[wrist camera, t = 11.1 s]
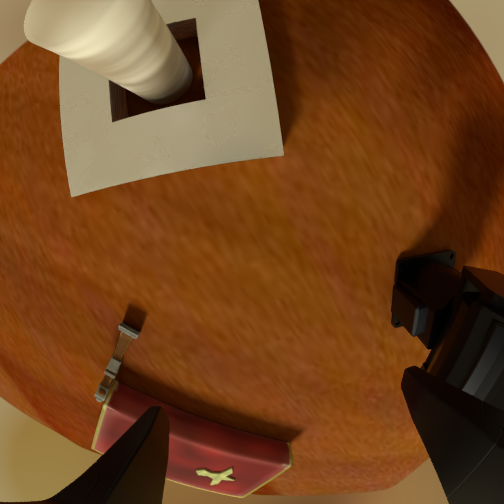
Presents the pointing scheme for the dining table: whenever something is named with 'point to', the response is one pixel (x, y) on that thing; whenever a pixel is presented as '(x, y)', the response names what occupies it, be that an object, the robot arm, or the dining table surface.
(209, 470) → the hardcover book
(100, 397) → the wooden post with brackets
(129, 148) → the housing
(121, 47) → the ball
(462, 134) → the dining table surface
